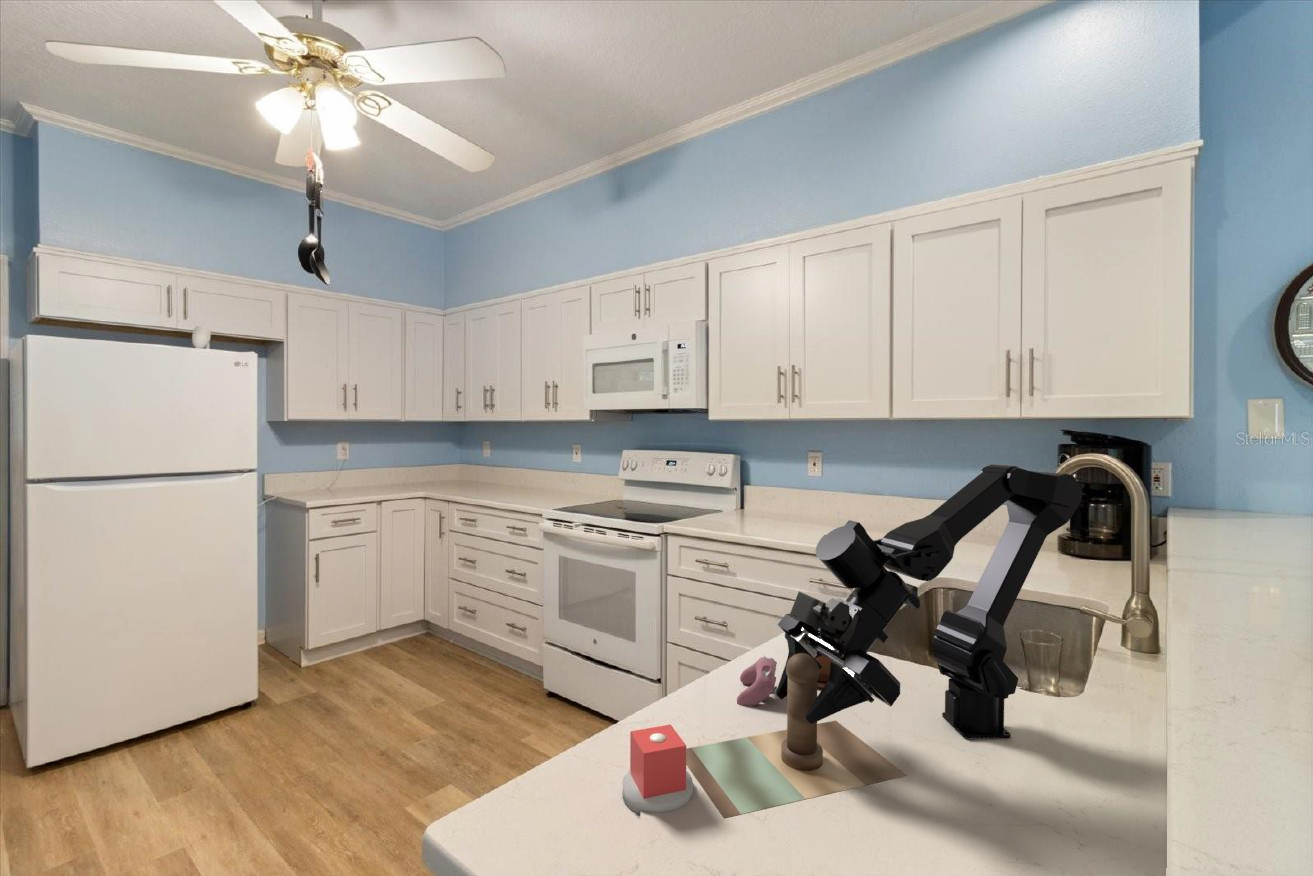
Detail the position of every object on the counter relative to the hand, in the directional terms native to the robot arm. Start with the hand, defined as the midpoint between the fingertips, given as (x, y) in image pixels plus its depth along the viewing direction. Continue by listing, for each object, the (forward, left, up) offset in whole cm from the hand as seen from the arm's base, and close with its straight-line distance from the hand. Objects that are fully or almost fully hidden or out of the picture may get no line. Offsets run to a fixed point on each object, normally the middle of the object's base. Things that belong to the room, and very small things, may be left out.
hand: (792, 708), depth 75 cm
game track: (+1, 0, -7) cm, 7 cm away
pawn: (-1, 0, -7) cm, 7 cm away
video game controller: (+1, -19, -7) cm, 21 cm away
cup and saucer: (-12, -25, -8) cm, 29 cm away
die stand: (+17, +5, -7) cm, 19 cm away
